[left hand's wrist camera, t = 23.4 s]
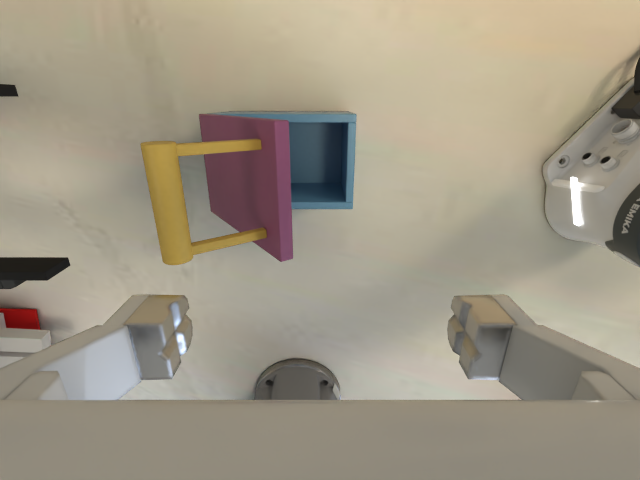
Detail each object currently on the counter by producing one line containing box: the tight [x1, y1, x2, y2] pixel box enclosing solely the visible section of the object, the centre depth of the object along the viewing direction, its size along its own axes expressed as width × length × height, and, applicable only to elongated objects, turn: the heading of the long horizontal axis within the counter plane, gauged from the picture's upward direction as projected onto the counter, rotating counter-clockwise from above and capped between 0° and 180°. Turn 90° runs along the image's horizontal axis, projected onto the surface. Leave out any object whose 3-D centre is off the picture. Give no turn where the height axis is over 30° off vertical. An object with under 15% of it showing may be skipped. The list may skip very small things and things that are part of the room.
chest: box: [210, 111, 356, 209], centre depth 41 cm, size 15×10×10 cm, turn 90°
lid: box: [141, 114, 293, 265], centre depth 28 cm, size 16×10×9 cm
